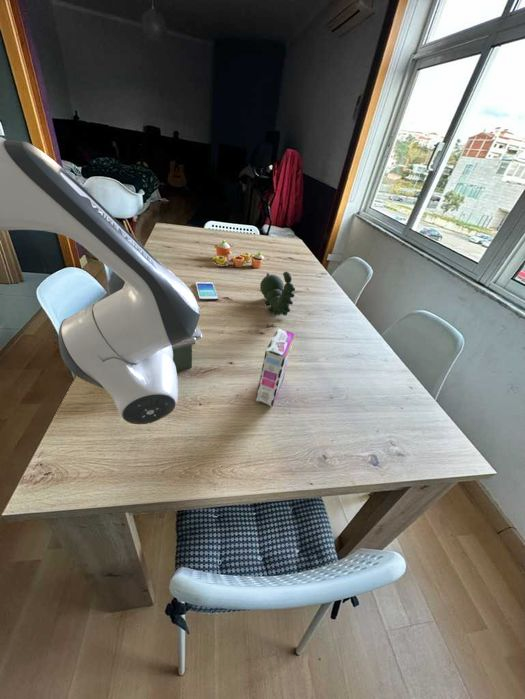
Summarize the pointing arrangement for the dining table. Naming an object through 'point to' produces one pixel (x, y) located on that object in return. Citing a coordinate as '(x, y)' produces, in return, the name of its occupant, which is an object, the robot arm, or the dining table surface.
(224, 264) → the toy tea set
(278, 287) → the toy figurine
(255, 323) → the dining table surface
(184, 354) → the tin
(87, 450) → the dining table surface
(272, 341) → the candy bar box
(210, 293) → the smartphone
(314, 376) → the dining table surface
